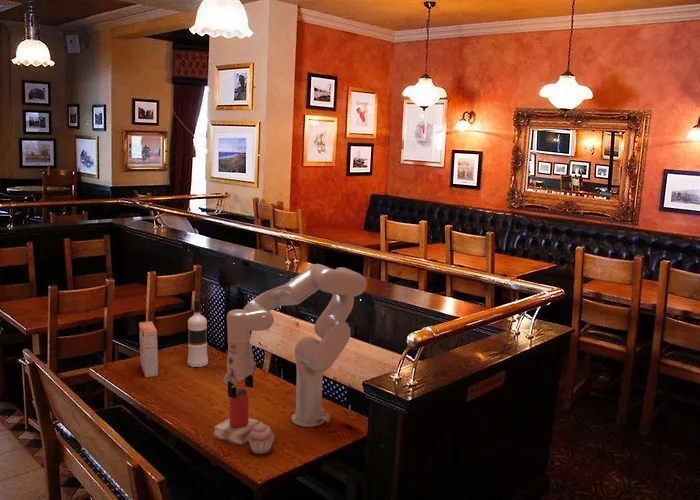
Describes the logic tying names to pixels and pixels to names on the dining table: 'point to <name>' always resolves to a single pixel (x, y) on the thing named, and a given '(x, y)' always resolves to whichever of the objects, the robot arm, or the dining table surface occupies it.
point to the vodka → (197, 338)
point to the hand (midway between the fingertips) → (240, 391)
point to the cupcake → (261, 438)
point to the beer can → (238, 409)
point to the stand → (234, 432)
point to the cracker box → (148, 349)
